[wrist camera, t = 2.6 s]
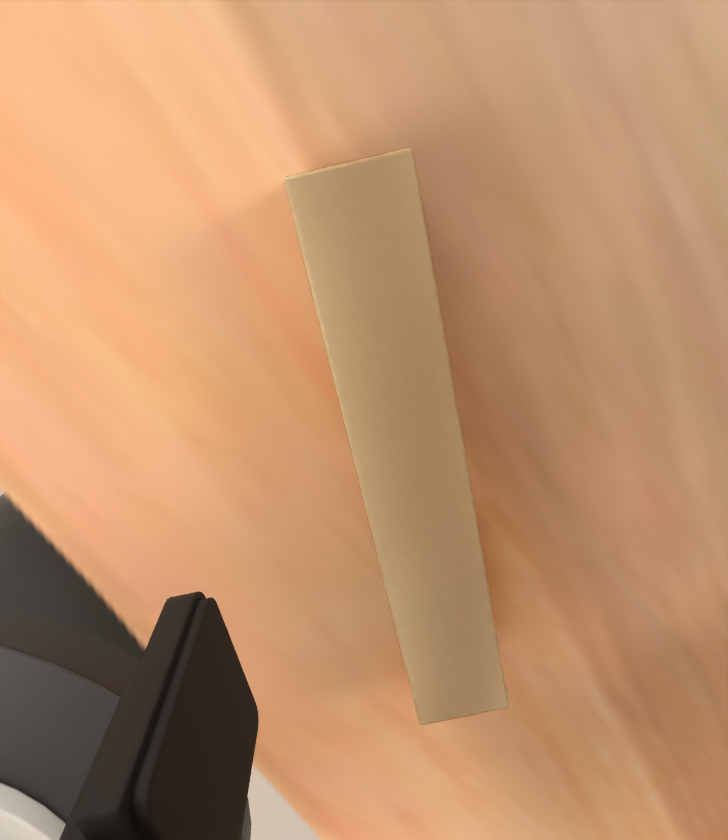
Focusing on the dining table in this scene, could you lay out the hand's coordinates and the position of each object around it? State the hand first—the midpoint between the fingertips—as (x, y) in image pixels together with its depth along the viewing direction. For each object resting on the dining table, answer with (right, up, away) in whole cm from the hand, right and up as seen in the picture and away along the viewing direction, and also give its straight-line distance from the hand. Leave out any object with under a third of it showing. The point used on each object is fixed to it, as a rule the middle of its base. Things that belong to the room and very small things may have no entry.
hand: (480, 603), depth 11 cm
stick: (-1, +2, +8) cm, 8 cm away
